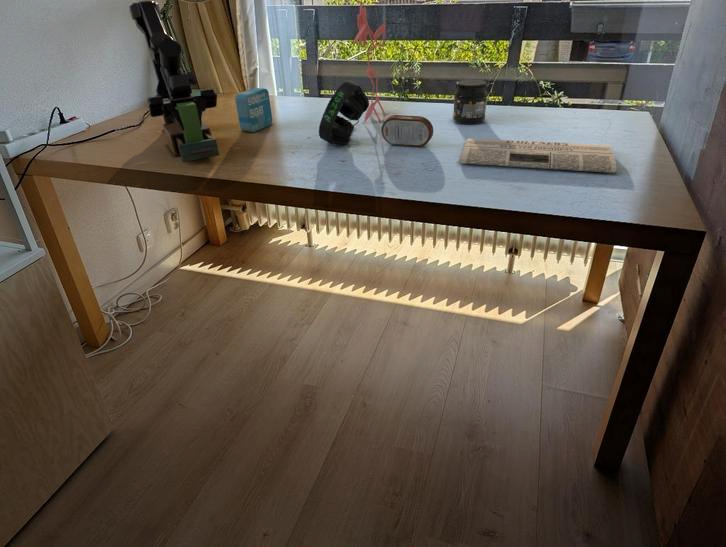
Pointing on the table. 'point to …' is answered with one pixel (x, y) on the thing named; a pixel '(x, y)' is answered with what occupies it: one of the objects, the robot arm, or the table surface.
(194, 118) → the green beveled box
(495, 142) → the newspaper
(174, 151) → the cabinet
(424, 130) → the tin
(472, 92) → the supplement container
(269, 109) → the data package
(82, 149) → the table surface
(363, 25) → the figurine
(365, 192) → the table surface
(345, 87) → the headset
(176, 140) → the drawer
